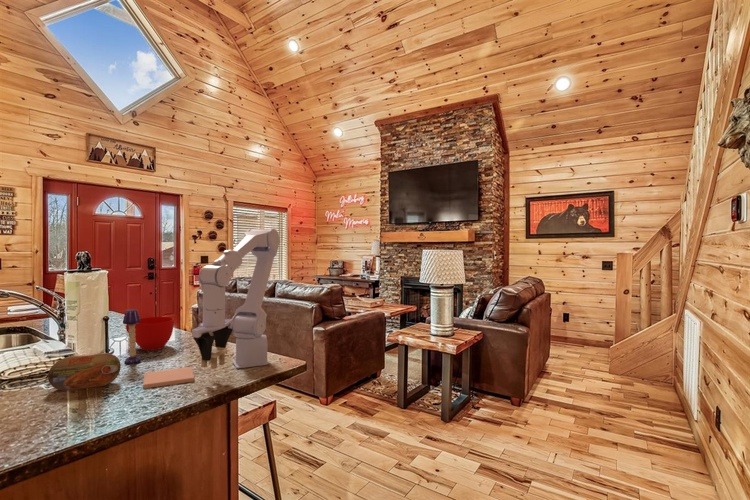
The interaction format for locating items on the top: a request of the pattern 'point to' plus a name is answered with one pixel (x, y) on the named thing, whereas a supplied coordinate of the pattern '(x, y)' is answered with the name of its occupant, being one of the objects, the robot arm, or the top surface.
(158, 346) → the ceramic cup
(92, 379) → the tin
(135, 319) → the toy lamp
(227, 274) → the robot arm
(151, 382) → the mat
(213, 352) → the toy stool
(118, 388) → the top surface
